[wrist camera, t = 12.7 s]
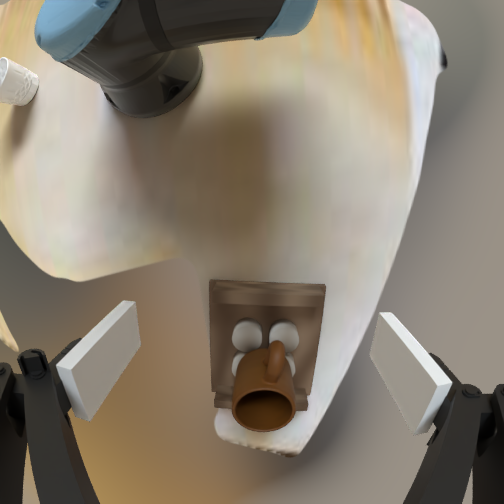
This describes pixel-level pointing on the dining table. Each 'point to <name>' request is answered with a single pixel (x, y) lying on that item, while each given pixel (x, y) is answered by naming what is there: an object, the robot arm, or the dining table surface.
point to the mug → (264, 389)
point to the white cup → (16, 83)
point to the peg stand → (264, 330)
